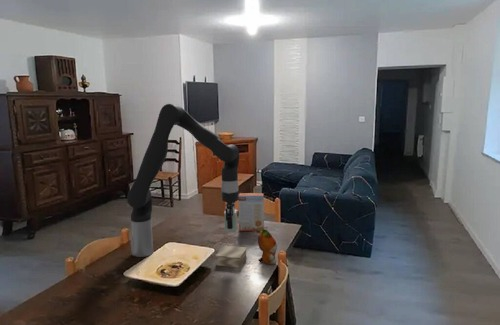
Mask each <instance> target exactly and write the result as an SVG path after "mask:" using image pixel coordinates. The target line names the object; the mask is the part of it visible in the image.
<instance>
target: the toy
mask: <svg viewBox="0 0 500 325" xmlns="http://www.w3.org/2000/svg"><path fill="white" fill-rule="evenodd" d="M257 245H258V249H259V250H260V251H262V254H261V257H260V258H259V259H258V262H259V263H263V264H266V265H275V264H277V260H276V252H277V249H278V244H277V241H276V239H275V237H274V236H273V235H272V234H271V233H270V232H269V230H268V229H265V228H264V229H263V230H261V231H259V235H258V237H257Z"/></svg>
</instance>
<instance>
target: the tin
mask: <svg viewBox="0 0 500 325" xmlns="http://www.w3.org/2000/svg"><path fill="white" fill-rule="evenodd" d="M223 214H224V215H223V216H224V220H223V221H224V222H223V223H224V233H237V230H238V209H236V208H235V210H234V215H233V220H232V226H233V228H232V229H228V228H227V221H226V211H225V210H224V212H223ZM228 218H230V217H228Z"/></svg>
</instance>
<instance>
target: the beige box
mask: <svg viewBox="0 0 500 325" xmlns="http://www.w3.org/2000/svg"><path fill="white" fill-rule="evenodd" d="M246 259H247V247H243V246H234V245H233V246H232V245H222V247H220V249H219V250H218V251H217V252H216V254H215V264H216V265H215V266H220V267H221V266H222V267H231V268H238V269H239V268H241V266H242V265H243V263H244V262H245V261H246Z"/></svg>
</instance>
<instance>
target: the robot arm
mask: <svg viewBox="0 0 500 325" xmlns="http://www.w3.org/2000/svg"><path fill="white" fill-rule="evenodd" d="M174 126H178V127H180V128H183V129H184V130H186V131H187V132H188V133H190V134H191V136H192V137H193V138H194V139H195V140H196V141H198V143H200V144H201V145H203V146H204V147H205V148H206V149H208V150H210V151H211V153H213V154H214V155H215V156H216V158H218V159H219V160H220V161H221V162H223V163H224V165H223V167H222V168H221V184H220V185H221V201H223V202H225V203H226V204H225V210H224V212H225V211H226V221H227V228H228V229H232V228H233V226H232V220H233V215H234V210H235V209H236V202H238V199H239V193H240V192H239V179H238V169H239V163H240V162H239V161H240V151H239V148H238V146H237V145H234V144H225V143H224V142H223V141H222V138H221V137H220V136H219V135H218V134H217V133H214V132H213V131H211V130H210V129H209V128H207V127H205V126H204V125H202V124H201V123H200V122H199V121H197V119H195V118H194V117H193V116H191V115H190V114H189V112H187V111H186V109H184V108H183V106H180V105H179V104H174V103H166V104H165V105H163V106H162V107H161V109H160V111H159V114H158V117H157V120H156V124H155V129H154V131H153V132H152V133H153V134H152V136H151V138H150V141H149V144H148V145H147V148H146V150H145V153H144V156H143V158H142V161H141V163H140V167H139V169H138V172H137V176H136V177H135V179H134V182H133V184H132V185H131V188H130V189H129V191H128V193H127V197H126V200H127V203H128V205H129V207H131V208H132V211H131V214H130V220H131V222H130V223H131V224H130V225H131V235H130V248H131V249H130V250H131V255H132V256H133V257H136V258H143V257H149V256H151V255H152V254H154V243H153V242H154V240H153V226H152V213H153V199H152V192H151V185H152V184H153V181H154V180H155V179H156V177H157V176H158V174H159V172H160V170H161V169H162V167H163V165H164V162H165V160H166V158H167V156H168V151H169V137H170V134H171V132H172V130H173V128H174ZM228 217H230V218H228Z"/></svg>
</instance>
